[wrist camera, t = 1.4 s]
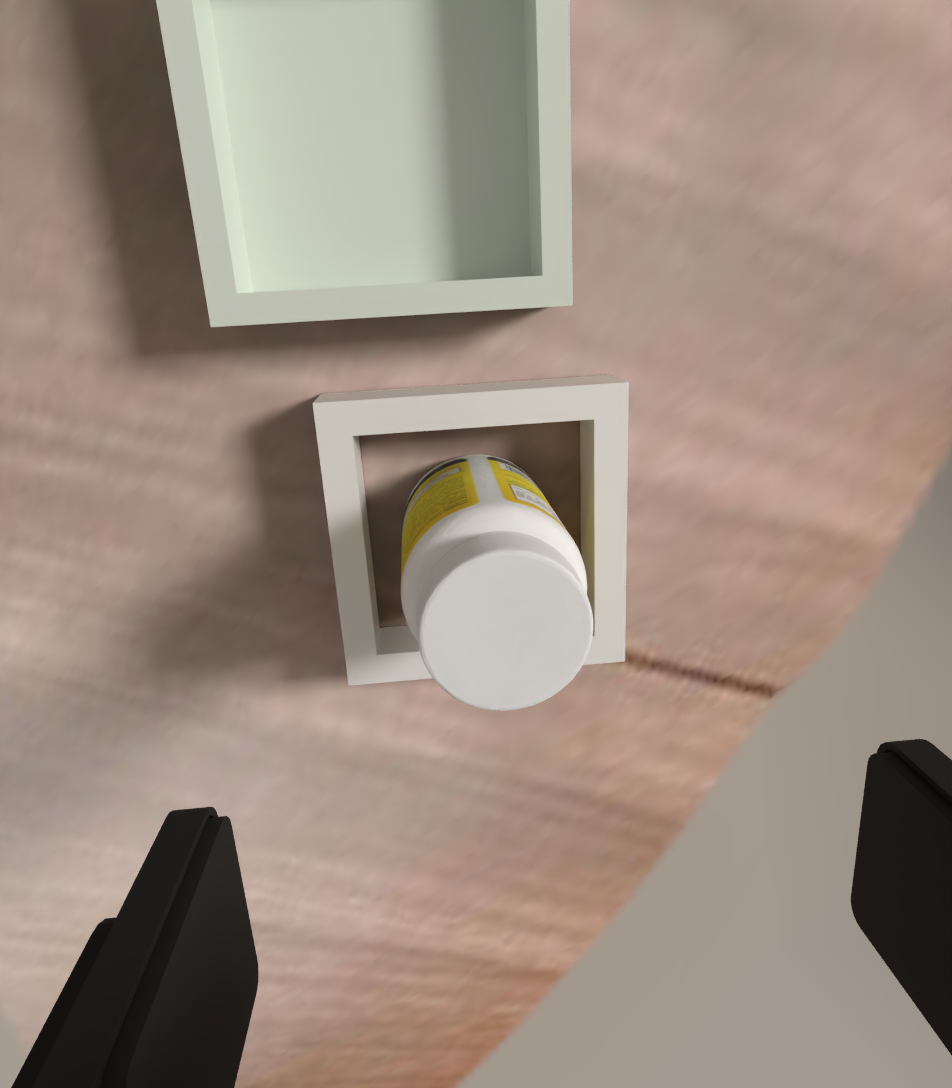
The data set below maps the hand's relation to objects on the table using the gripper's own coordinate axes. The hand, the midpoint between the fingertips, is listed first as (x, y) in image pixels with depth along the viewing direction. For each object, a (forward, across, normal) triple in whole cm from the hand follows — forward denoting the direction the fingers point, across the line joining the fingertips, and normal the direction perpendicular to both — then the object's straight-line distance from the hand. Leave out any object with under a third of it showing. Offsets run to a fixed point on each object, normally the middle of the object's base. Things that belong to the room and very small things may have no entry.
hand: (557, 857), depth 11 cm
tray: (+14, +2, -12) cm, 19 cm away
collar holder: (+14, 0, -1) cm, 15 cm away
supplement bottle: (+15, 0, -1) cm, 15 cm away
